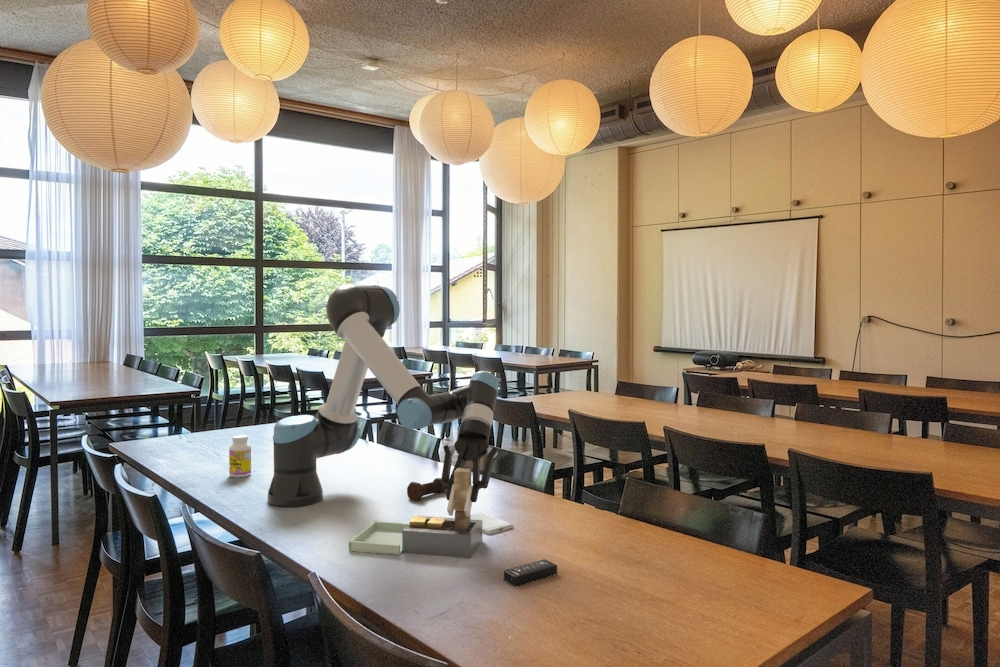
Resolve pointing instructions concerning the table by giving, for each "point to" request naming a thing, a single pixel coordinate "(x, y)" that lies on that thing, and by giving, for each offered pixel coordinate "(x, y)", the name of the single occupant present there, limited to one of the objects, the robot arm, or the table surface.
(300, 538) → the table surface
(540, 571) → the multiport hub
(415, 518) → the light wood block
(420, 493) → the bolt
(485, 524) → the hard drive
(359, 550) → the tray
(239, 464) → the supplement bottle
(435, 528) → the tan wooden block
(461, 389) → the robot arm
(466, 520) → the tan wooden pedestal block
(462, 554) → the gray open box
